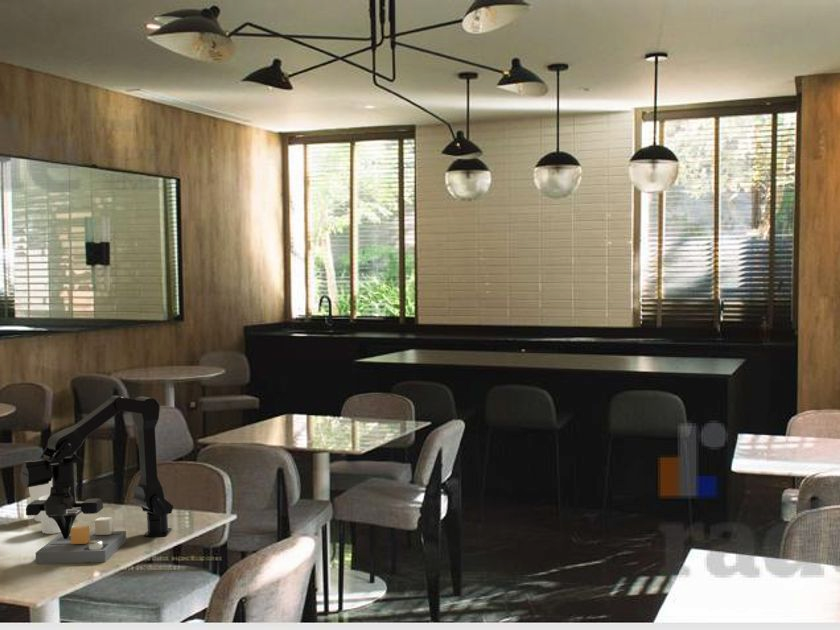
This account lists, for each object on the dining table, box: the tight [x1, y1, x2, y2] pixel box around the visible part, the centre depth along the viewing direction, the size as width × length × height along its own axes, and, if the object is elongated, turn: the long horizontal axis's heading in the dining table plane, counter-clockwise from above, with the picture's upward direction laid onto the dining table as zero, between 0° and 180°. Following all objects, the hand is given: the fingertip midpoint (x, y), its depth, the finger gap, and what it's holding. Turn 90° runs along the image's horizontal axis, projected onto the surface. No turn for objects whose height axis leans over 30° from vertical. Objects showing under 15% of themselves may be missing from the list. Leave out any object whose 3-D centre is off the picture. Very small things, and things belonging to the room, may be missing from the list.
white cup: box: [38, 495, 67, 535], centre depth 270 cm, size 8×8×10 cm
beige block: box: [94, 516, 114, 535], centre depth 254 cm, size 3×4×4 cm
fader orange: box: [70, 525, 91, 544], centre depth 246 cm, size 3×4×4 cm
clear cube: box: [89, 540, 103, 550], centre depth 243 cm, size 4×4×4 cm
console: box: [35, 530, 127, 565], centre depth 248 cm, size 18×18×4 cm
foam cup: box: [28, 480, 52, 522], centre depth 284 cm, size 10×9×13 cm
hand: (66, 538), depth 246 cm, fingers closed
